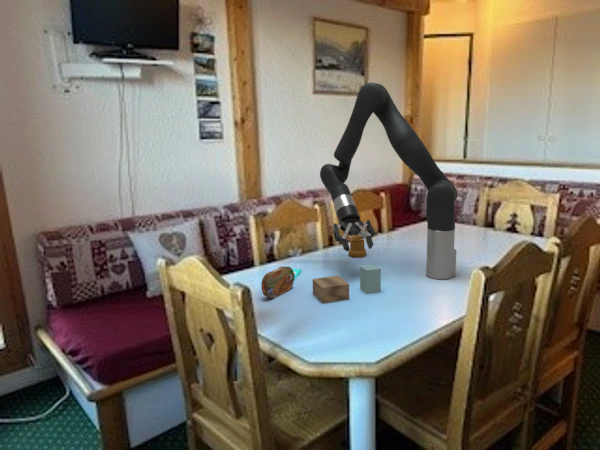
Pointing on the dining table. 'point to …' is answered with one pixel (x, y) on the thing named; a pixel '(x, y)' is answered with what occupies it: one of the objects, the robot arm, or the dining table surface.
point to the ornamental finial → (357, 247)
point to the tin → (277, 282)
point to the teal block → (370, 279)
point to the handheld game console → (296, 272)
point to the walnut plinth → (330, 289)
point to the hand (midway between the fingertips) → (359, 248)
